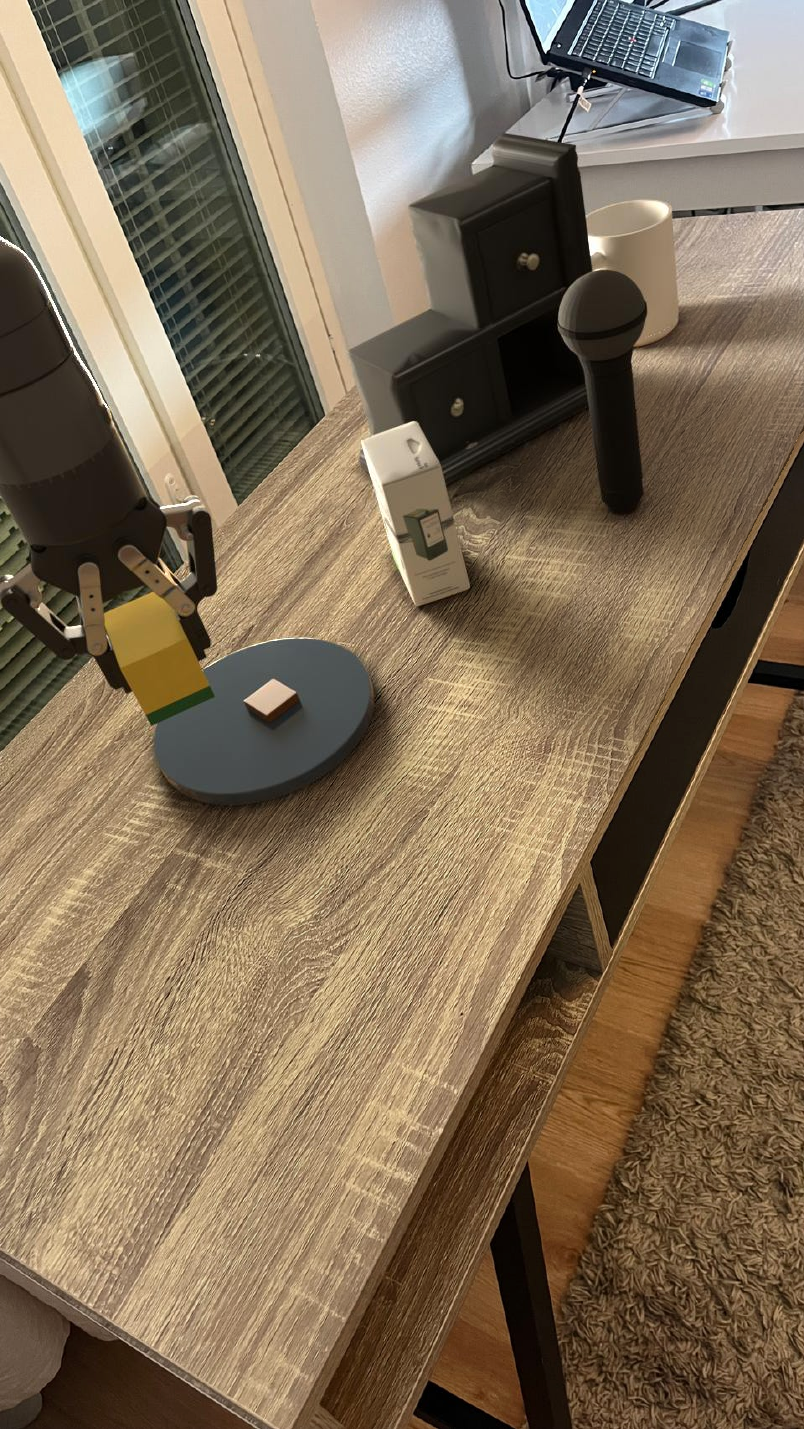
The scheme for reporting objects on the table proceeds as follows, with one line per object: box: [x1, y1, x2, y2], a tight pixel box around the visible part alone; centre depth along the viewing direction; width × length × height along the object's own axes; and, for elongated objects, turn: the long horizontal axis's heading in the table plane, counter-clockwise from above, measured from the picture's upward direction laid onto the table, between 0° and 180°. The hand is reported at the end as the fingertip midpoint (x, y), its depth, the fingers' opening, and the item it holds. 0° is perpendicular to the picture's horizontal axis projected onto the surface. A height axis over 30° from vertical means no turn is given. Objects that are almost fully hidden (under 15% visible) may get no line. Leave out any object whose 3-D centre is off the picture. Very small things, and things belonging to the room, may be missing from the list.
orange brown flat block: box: [244, 679, 300, 723], centre depth 80 cm, size 3×3×1 cm
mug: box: [585, 198, 680, 348], centre depth 110 cm, size 10×12×12 cm
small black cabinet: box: [346, 132, 593, 486], centre depth 98 cm, size 23×11×24 cm, turn 122°
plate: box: [153, 637, 376, 806], centre depth 81 cm, size 17×17×1 cm
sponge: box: [104, 591, 215, 726], centre depth 71 cm, size 4×7×5 cm, turn 23°
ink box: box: [360, 421, 471, 607], centre depth 87 cm, size 9×5×12 cm, turn 14°
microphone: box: [557, 270, 648, 516], centre depth 84 cm, size 7×7×20 cm
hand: (163, 668), depth 72 cm, fingers closed on sponge, 4 cm apart
